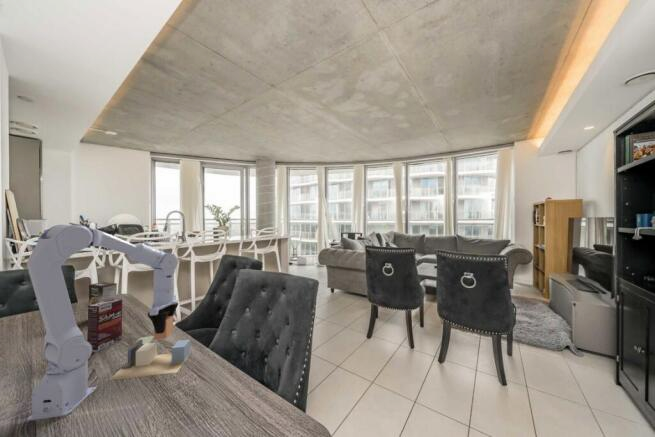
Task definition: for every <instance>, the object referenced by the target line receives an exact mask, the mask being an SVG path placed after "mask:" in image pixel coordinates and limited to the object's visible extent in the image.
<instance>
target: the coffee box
mask: <svg viewBox="0 0 655 437" xmlns="http://www.w3.org/2000/svg"><path fill="white" fill-rule="evenodd" d="M117 284H118V283H116V282H106V281H102V282H97V283H92V284H89V285H88V306H89V305H93V304H97V303H100V302H104V301H108V300H111V299H118V298H117V296H118V295H117V293H118V292H117V290H118V286H117Z"/></svg>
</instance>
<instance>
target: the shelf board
mask: <svg viewBox="0 0 655 437" xmlns="http://www.w3.org/2000/svg"><path fill="white" fill-rule="evenodd" d="M190 354H192V351H191V350H190ZM190 354H189V355H188V357H187V358H186V359H185V361H182V362H172V352H171V353H163V354H157V357H156V358H155V359H154V360H153V361H152V362H151V363H150V364H149V365H144V366H136V363H135V364H134V365H133V366H132V367H131V368H123V369H122V367H121V368H120V369H119V370H118V371H117V372H116V373H115V374H114V375H112V376H111V377H110V378H109V379H108V381H115V380H116V381H117V380H122V379H123V380H125V379H132V378H142V377H151V376H161V375H167V374H177V373H178V372H179V371H180V370H181V368H182V366H183V365H184V363H185V362H186V360H188V358H189V356H190Z"/></svg>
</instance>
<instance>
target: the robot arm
mask: <svg viewBox="0 0 655 437" xmlns="http://www.w3.org/2000/svg"><path fill="white" fill-rule="evenodd" d="M87 247H91V248H92V247H93V248H94V247H102V248H106V249H108V250H113V251H116V252H118V253H121V254H126V255H127V256H128V259H129V260H130V261H133V262H136V263H137V264H138V263H139V264H142V265H144V266H148V267H150V268H151V269H152V270H153V302H152V305H151V307H150V308H149V312H148V313H147V317H148V318H149V319H150V321H151V323H152V325H153V330H154V329H155V332H156V334H158V333H163V332H164V330H165V323H166V319H167V316H173V317H174V316H175V312H176V310H177V308H178V305H179V300H178V299H177V295H175V272H176V271H175V270H176V268H177V266H178V264H179V260H178V259H177V256H176V255H175V254H174V253H173V252H172V253H171V252H164V251H165V250H164V249H162V248H159V249H158V248H157V247H153V246H151V244H150V243H148V242H138V243H136V244H133V243H131V242H128V241H126V240H124V239H122V238H119V237H117V236H114V235H113V234H109V233H107V232H105V231H102V230H99V229H95V228H93V227H87V226H85V225H82V224H70V225H69V224H68V225H67V224H56V225H53V226H51V227H49V228H48V229H46V230H45V231H44V232H43V233H41V234H40V235H39V236H38V237H37V242H36V245H35V246H34V248H33V249H32V251H31V253H30V255H29V257H28V259H27V261H26V267H27V270H28V275H29V277H30V281H31V284H32V287H33V291H34V294H35V295H34V296H35V298H36V300H37V305H38V309H39V311H40V316H41V318H42V322H43V326H44V330H45V332H46V333H45V334H44V335H45V336H44V338H43V339H44V346H43V349H42V357H43V359H44V360H46V361H47V362H48V364H47V366H46V368H45V374H44V376H43V377H42V379H41V380H40V381H39V382H38V383H37V384H36V385H35V387H33V389H32V392H31V415H30V416H28V417H26V420H27V421H33V420H42V419H48V418H49V419H50V418H56V417H65V416H68V415H69V414H70V413H71V411H72V410H74V409H75V408H76V407H77V406H78V405H80V403H81V402H83V401H84V400H85V399H87V397H88V396H89V395H90V394H91V393H93V392H94V391H95V390H96V389H97V386H93V387H92V386H91V387H88V385H89V384H88V380H89V376H88V375H89V374H88V373H89V370H88V369H89V368H88V367H89V366H88V365H89V364H88V360H89V359H90V357H91V356H92V353H93V352H92V346H91V344H90V343H89V342H87V339H85V336H84V334H83V331H81V329H80V328H79V327H78V325H77V322H76V317H75V313H74V310H73V307H72V303H71V299H70V296H69V292H68V289H67V288H68V287H67V284H66V280H65V276H64V273H63V268H62V265H63V264H64V263H65V262H66V261H67V260H69V259H70V258H71V257H72V256H73V255H75V254H76V253H79V252H80V251H82V250H84V249H86V248H87Z"/></svg>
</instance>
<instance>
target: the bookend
mask: <svg viewBox="0 0 655 437" xmlns="http://www.w3.org/2000/svg"><path fill="white" fill-rule="evenodd" d="M138 340H139V339H138ZM138 340H137V341H138ZM137 341H136V342H134V344H133V345H131V346H130V347H129V348H128V349H127V362H126V363H125V364H124V365H123V366H122V367H121V368H122V369H123V368H131V367H132V366H133V365H134V364H135V363H136V351H137V350H138V349H139V348H140V347H141V346H142V340H139V341H138V342H137Z"/></svg>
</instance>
